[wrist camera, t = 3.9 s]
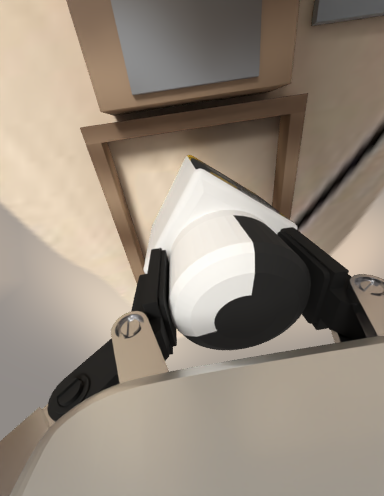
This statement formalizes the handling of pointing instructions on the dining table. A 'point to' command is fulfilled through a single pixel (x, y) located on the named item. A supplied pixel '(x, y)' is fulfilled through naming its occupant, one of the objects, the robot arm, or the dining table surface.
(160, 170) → the dining table surface
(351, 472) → the robot arm
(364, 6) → the slate mat
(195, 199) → the medicine bottle
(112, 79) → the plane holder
